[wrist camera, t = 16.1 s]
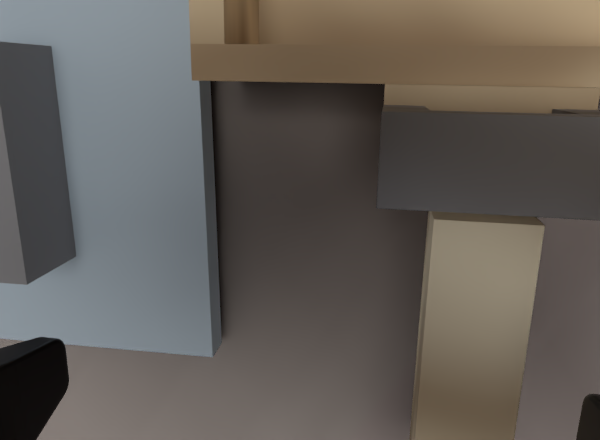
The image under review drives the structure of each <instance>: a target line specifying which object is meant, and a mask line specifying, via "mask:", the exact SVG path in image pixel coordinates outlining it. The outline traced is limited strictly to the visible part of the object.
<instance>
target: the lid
mask: <svg viewBox="0 0 600 440" xmlns="http://www.w3.org/2000/svg"><path fill="white" fill-rule="evenodd" d="M38 337H48V338H57V339H60V340H62V341H63V342H64V344H68V345H80V346H91V347H102V348H114V349H125V350H136V351H148V352H159V353H170V354H182V355H193V356H204V357H213V356H214V354H215V353H216V351H217V350H218V348H219V346H220V345H221V343H222V338H221V315H220V292H219V268H218V245H217V222H216V199H215V176H214V153H213V130H212V107H211V84H210V81H193V80H192V74H191V47H190V21H189V0H0V338H1V339H12V340H23V341H27V340H31V339H34V338H38Z"/></svg>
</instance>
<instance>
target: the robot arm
mask: <svg viewBox="0 0 600 440" xmlns="http://www.w3.org/2000/svg"><path fill="white" fill-rule="evenodd" d="M68 383H69V375H68V366H67V357H66V348H65V345H64V342H63V341H62V340H60V339H57V338H48V337H38V338H34V339H31V340H27V341H24V342H21V343H17V344H14V345H10V346H7V347H4V348H0V440H36V439H37V438H38V436H39V434H40V433H41V431H42V430H43V428H44V426H45V425H46V423H47V422H48V420H49V418H50V417H51V415H52V414H53V412H54V410H55V409H56V407H57V406H58V404H59V402H60V401H61V399H62V398H63V396H64V394H65V393H66V390H67V388H68ZM576 440H600V395H598V394H589V395H587V396H586V397H585V399H584V401H583V405H582V410H581V416H580V421H579V427H578V432H577V438H576Z"/></svg>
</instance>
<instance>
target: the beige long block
mask: <svg viewBox="0 0 600 440" xmlns="http://www.w3.org/2000/svg"><path fill="white" fill-rule="evenodd" d="M544 228H545V225H544V224H543V223H541V222H540V221H539V220H538V219H537V218H536V217H527V216H509V215H490V214H472V213H454V212H436V211H428V222H427V234H426V246H425V258H424V271H423V283H422V295H421V307H420V319H419V331H418V343H417V355H416V367H415V379H414V391H413V403H412V415H411V427H410V440H514V436H515V429H516V422H517V415H518V408H519V401H520V395H521V388H522V381H523V374H524V367H525V360H526V353H527V346H528V339H529V332H530V325H531V318H532V311H533V304H534V298H535V291H536V284H537V277H538V270H539V263H540V256H541V249H542V242H543V235H544Z"/></svg>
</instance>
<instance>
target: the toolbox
mask: <svg viewBox="0 0 600 440" xmlns="http://www.w3.org/2000/svg"><path fill="white" fill-rule="evenodd" d="M189 21H190V47H191V74H192V80H193V81H249V82H306V83H362V84H385V90H384V106H383V109H382V116H381V134H380V152H379V170H378V188H377V206H376V208H381V209H399V210H417V211H436V212H454V213H472V214H490V215H509V216H527V217H545V218H564V219H582V220H600V110H597V109H598V103H599V97H600V0H189ZM585 87H588V88H585Z"/></svg>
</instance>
